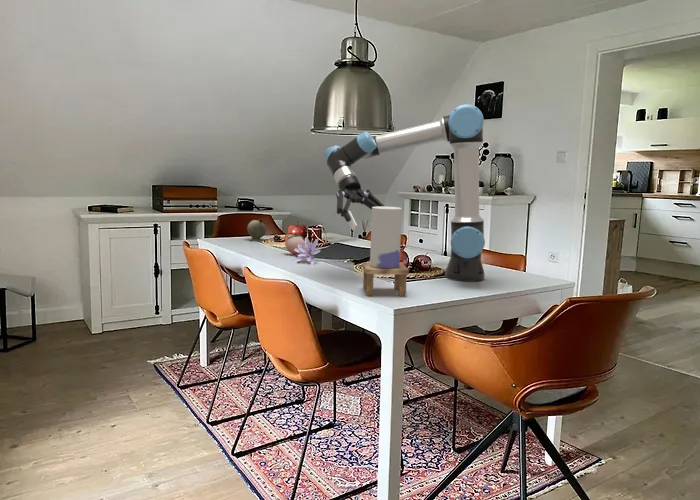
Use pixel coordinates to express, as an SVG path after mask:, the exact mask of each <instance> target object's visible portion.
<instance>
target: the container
mask: <svg viewBox="0 0 700 500" xmlns="http://www.w3.org/2000/svg"><path fill="white" fill-rule="evenodd" d="M402 213H403V208H402V207H398V206H385V205H384V206H378V207H372V210H371V221H370V222H371V225H370V229H371V230H370V250H369V263H370V266H372V267H376V268H397V267H399V264H400V263H401V262H400V261H401V260H400V259H401V258H400V257H401V256H400V255H401V239H402V238H401V237H402Z"/></svg>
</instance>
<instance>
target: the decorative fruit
mask: <svg viewBox="0 0 700 500" xmlns="http://www.w3.org/2000/svg"><path fill="white" fill-rule="evenodd" d="M298 244H302V245H304V246H305V238H304V237H303V236H302V235H297V234H296V233H295V234H294V235H289V236H287V237H286V238H285V243H284V246H285V248H286V250H287V251H288V252H289V253H291V254H293V255H294V256H295V255H299V253H298V252H296V251H295V250H294V249H295V248H298ZM305 247H306V246H305Z"/></svg>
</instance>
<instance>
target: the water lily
mask: <svg viewBox="0 0 700 500" xmlns="http://www.w3.org/2000/svg"><path fill="white" fill-rule="evenodd" d="M318 241H319V238H317V239H315V240H314V241H310V240H309V238H308V237H307V236H306V237H305V238H304V242H305V246H304V245H302V244H298V248H295V249H294V250H295V251H296V252H298V254H297V257H296V259H294V261H293V263H297V262H301V261H303V260H305V259H306V258H307V262H309V263H310V264H311V265H313V266H314V265H315V263H316V261H315V257H314V255H316V254H317V255H318V254H319V253H320V252H321V249H316V247H317V245H318V243H319V242H318Z"/></svg>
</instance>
